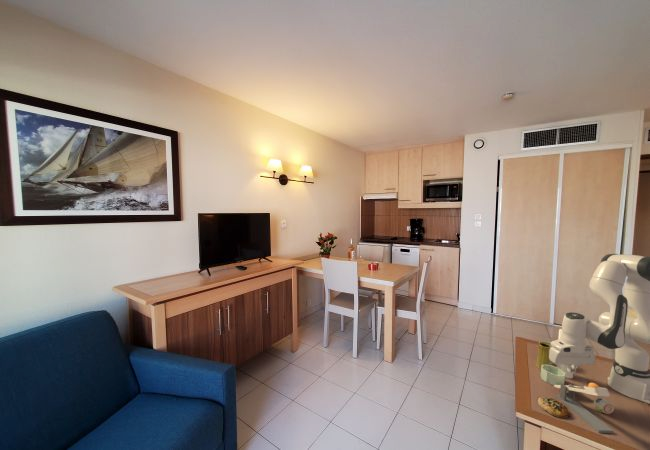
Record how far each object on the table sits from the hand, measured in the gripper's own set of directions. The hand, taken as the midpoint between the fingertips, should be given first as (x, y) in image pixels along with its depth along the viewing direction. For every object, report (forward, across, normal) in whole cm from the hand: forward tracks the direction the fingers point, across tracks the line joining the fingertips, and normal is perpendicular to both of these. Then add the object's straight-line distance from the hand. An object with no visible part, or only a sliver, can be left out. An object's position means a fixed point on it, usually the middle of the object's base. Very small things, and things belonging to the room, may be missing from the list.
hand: (571, 371), depth 127 cm
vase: (+12, -3, -20) cm, 24 cm away
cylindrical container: (+12, -11, -15) cm, 22 cm away
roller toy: (+12, -5, +12) cm, 17 cm away
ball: (-4, +6, +17) cm, 19 cm away
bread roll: (+11, +18, +11) cm, 24 cm away
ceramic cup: (+12, -14, -28) cm, 34 cm away
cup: (+12, +1, -9) cm, 15 cm away
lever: (+3, +3, +10) cm, 11 cm away
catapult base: (+11, +7, +13) cm, 19 cm away
